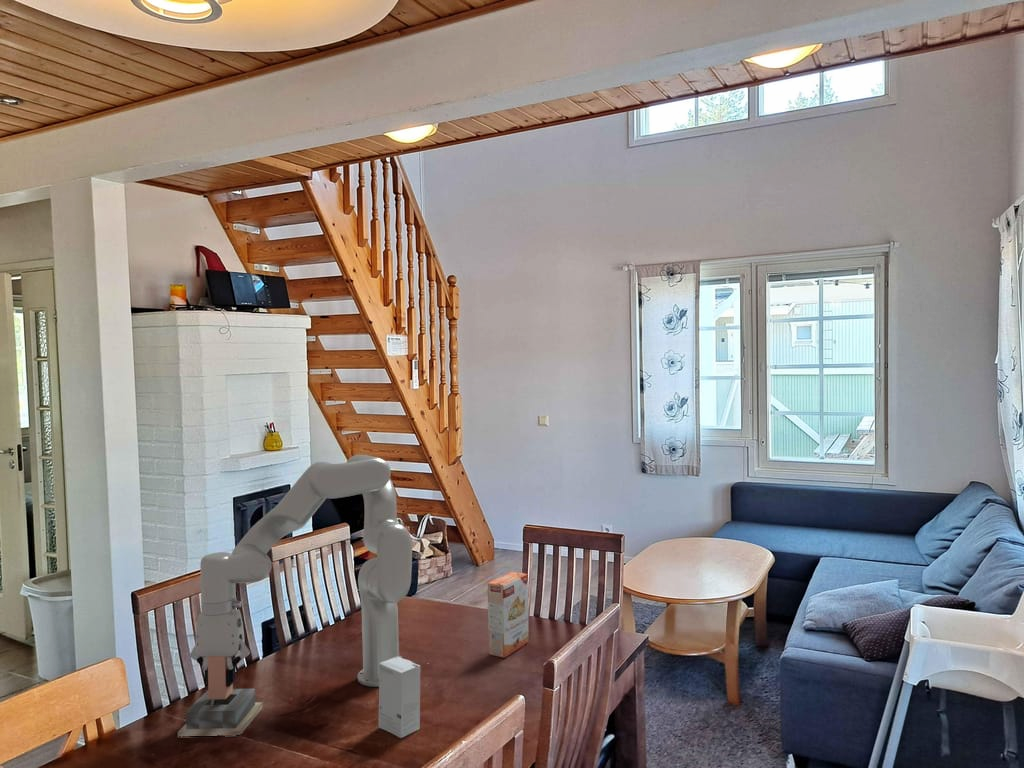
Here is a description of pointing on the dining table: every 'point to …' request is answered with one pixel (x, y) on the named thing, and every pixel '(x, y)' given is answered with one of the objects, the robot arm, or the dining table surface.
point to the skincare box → (399, 696)
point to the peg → (218, 678)
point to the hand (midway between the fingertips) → (220, 683)
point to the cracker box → (508, 614)
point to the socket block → (221, 714)
